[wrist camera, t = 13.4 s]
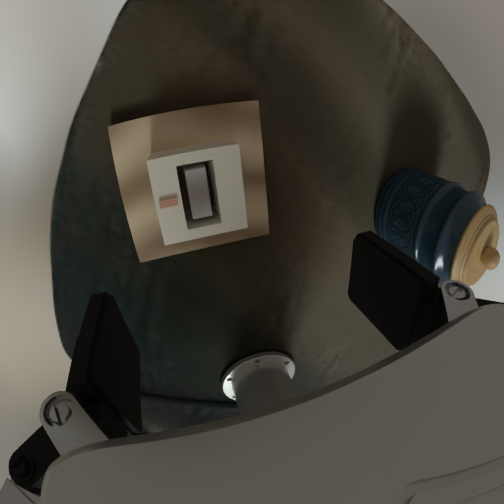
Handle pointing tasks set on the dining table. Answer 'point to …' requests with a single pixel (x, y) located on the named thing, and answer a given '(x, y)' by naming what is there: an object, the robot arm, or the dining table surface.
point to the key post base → (180, 136)
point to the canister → (439, 225)
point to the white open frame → (220, 182)
